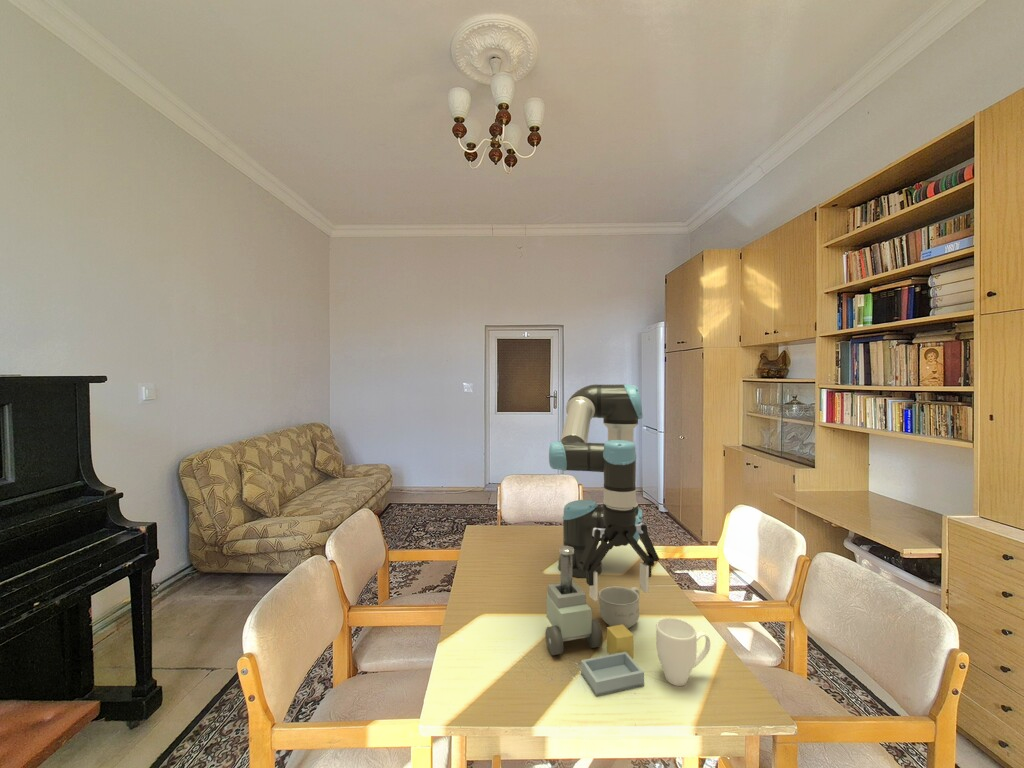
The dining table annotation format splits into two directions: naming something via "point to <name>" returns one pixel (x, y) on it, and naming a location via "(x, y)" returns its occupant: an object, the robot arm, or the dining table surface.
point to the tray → (612, 673)
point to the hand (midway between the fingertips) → (619, 594)
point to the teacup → (619, 605)
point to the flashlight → (566, 569)
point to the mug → (678, 649)
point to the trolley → (570, 619)
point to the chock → (620, 640)
